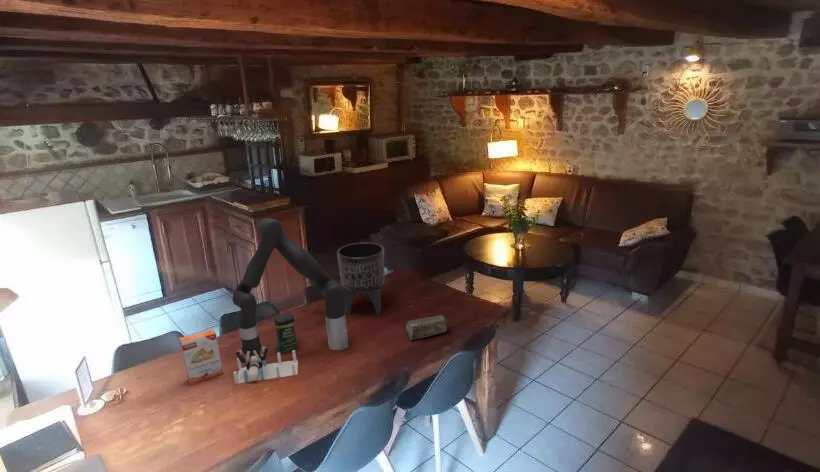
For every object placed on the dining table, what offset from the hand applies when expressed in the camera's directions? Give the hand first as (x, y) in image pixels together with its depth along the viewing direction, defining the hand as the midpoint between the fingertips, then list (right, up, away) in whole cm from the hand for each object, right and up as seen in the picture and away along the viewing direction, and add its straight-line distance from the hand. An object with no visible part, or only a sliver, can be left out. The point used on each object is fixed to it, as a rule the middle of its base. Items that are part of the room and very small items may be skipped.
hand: (255, 368), depth 212 cm
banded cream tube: (0, 0, 0) cm, 0 cm away
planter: (+43, +17, +57) cm, 74 cm away
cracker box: (-22, -4, +1) cm, 22 cm away
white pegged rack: (+5, -2, +2) cm, 6 cm away
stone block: (+77, +9, +29) cm, 83 cm away
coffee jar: (+9, +4, +20) cm, 22 cm away
